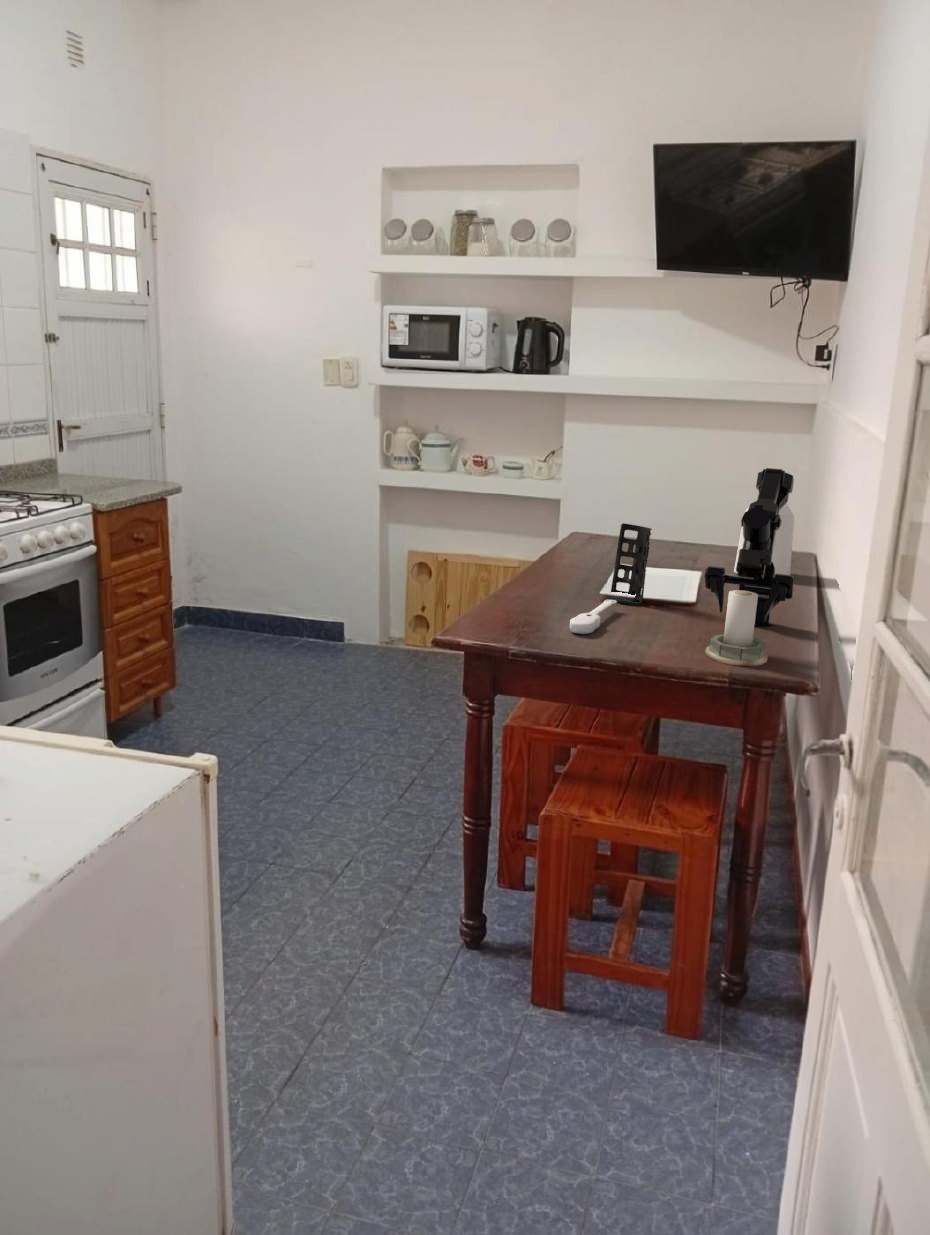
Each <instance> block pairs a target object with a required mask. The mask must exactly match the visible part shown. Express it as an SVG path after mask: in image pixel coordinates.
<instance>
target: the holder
mask: <svg viewBox="0 0 930 1235" xmlns="http://www.w3.org/2000/svg"><path fill="white" fill-rule="evenodd" d="M652 529H653V528H651V527H646V526H642V525H637V524H630V523H621V524H620V529H619V530H620V531H619V535H618V536H619V537H618V542H617V543H618V544H617V549H616V553H615V554H616V556H615V562H614V567H613V568H614V570H613V574H612V581H611V588H610V589H611V590H610V593H611V592H622V593H628V594H631V595H635V594H636V596H635V598H634V599H629V598H627V597H620V596H616V597H614V596H610V595H609V599H610V600H615V601H617V603H618V602H619V603H622V604H626V605H628V606H629V605H630V606H636V607H642V606H643V603H644V602H643V601H644V592H645V591H644V590H645V583H646V582H645V580H646V572H647V563H648V558H649V551H650V546H649V545H650V540H651V535H652V533H651V531H652ZM626 531H632V532H633V531H634V532H637V535H636V539H632V538H626V537H625V532H626ZM624 544H628V548H627V551H624V550H623V545H624ZM634 546H635V547H634ZM622 557H626V558H632V559H633V560H632V565H628V564H623V563H621V558H622ZM620 570H623V572H624V574H623V577H620V576H619V571H620ZM630 572H631V574H630ZM618 583H621V584H628V585H629V586H628V591H624V590H623V591H622V590H618V589H617V584H618ZM636 600H639V601H636ZM633 601H634V602H633Z"/></svg>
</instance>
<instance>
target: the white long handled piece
mask: <svg viewBox="0 0 930 1235" xmlns="http://www.w3.org/2000/svg"><path fill="white" fill-rule="evenodd" d="M617 603H618V601H616V600H613V599H605V600H603V602H602V603H601V604H600V605H598V606H597V607H595V608H594V609H592V610H591V611H590V612H583V613H579V614H577V616H574V617H573V618H571V619H570V620H569V630H570V632H571V633H573V634H581V635H587V634H591V633H594V632H595V630H596V629H597V630H598V629H599V627H600V624H601V616H600V615H599V614H600V613H602V612H603V611H605V610H606V609H607V608H609V607H610V606H612V605H615V604H617Z"/></svg>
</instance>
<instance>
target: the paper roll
mask: <svg viewBox="0 0 930 1235" xmlns="http://www.w3.org/2000/svg"><path fill="white" fill-rule="evenodd" d="M727 596H728V598H727V606H726V614H725V615H726V616H725V625H724V632H723V635H724V640H723V644H726V645H731V646H737V647H752V641H753V637H754V632H755V631H754V630H755V626H754V625H755V617H756V608H757V600H758V594H756V593H753V592H749V591H740V590H739V589H738V590H735V589H733V590H730V591H729V592H728V595H727Z"/></svg>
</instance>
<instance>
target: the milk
mask: <svg viewBox="0 0 930 1235" xmlns="http://www.w3.org/2000/svg"><path fill="white" fill-rule="evenodd" d="M755 501H757V499H756V500H755ZM787 503H788V502H787ZM787 503H786V504H785V505H784V506H783V507H782V508H781V509H780V511H779V515H780V517H781V518H780V519H781V520H782V524H781V526H780V527H779V529H778V531H777V530H776V534H775V540H774V546H773V553H772V560H771V561H772V562H773V565H774V567H775V574H784V575H791V564H792V550H793V542H794V541H793V539H794V530H795V529H794V528H795V527H794V526H795V516H794V514H793V512H792V510H791V509H790V507H789V506H788V504H787ZM748 509H749V507H747V508H746V509H745V511H744V513H745V512H747V511H748ZM738 539H739V540H738V547H737V551H736V556H735V557H736V558H735V563H734V567H733V568H734V569H733V573H735V574H737V572H736V567H737V562H738V557H739V551H740V549H742V548H743V543H744V537H743V527H742V526H741V529H740V534H739V538H738Z"/></svg>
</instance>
